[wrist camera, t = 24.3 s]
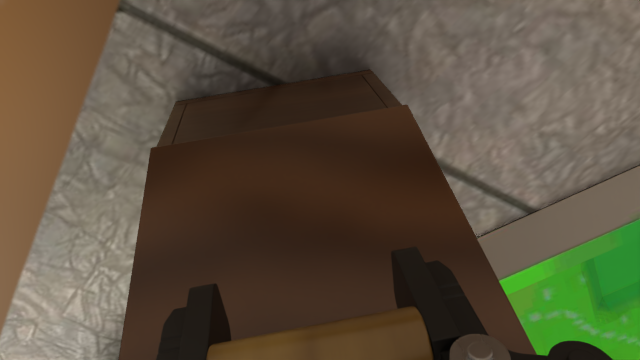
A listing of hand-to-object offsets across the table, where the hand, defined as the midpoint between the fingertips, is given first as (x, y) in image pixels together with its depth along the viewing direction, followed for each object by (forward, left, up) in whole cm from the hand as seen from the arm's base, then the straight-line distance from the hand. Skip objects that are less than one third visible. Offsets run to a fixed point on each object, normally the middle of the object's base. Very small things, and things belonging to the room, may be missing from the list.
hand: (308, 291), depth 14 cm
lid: (+2, 0, -4) cm, 4 cm away
